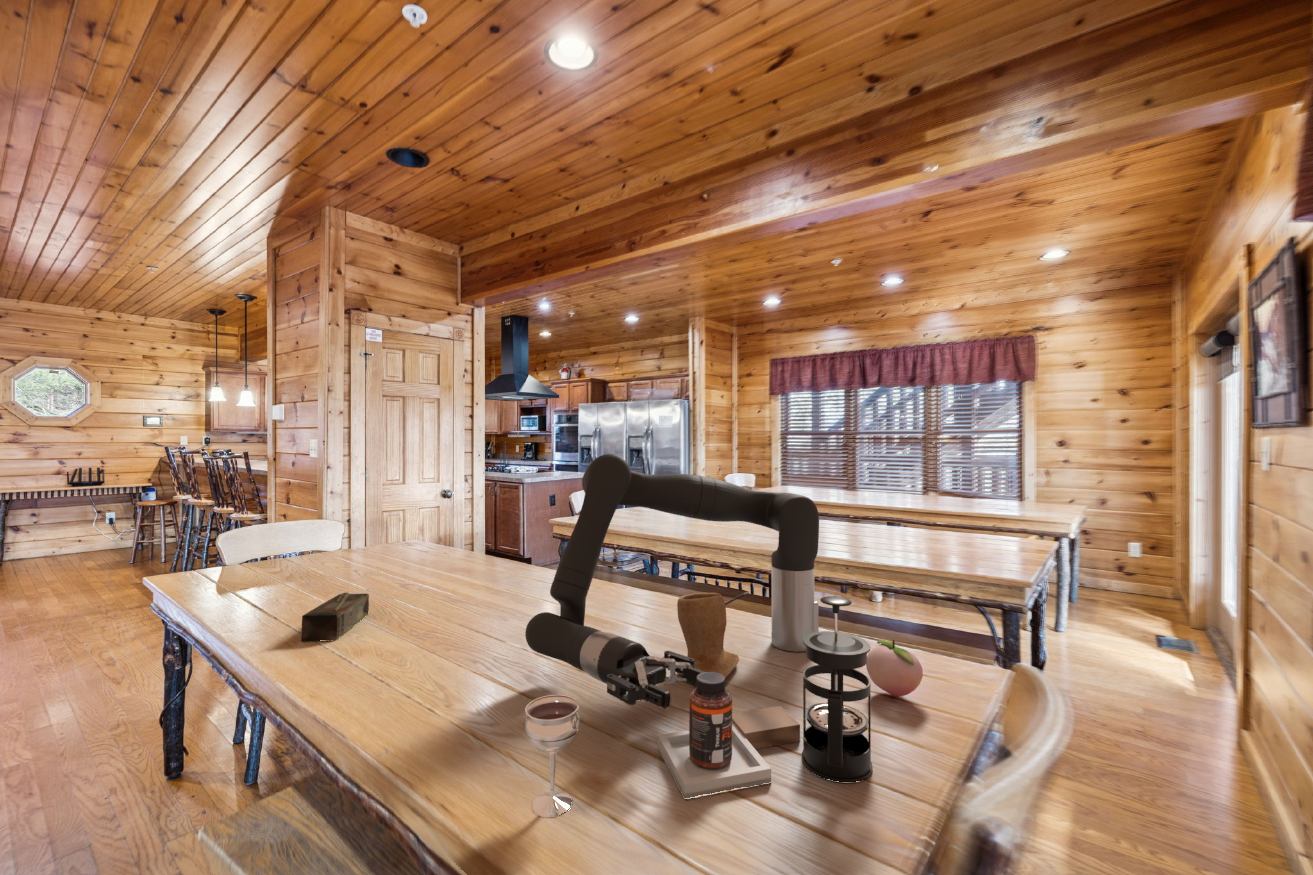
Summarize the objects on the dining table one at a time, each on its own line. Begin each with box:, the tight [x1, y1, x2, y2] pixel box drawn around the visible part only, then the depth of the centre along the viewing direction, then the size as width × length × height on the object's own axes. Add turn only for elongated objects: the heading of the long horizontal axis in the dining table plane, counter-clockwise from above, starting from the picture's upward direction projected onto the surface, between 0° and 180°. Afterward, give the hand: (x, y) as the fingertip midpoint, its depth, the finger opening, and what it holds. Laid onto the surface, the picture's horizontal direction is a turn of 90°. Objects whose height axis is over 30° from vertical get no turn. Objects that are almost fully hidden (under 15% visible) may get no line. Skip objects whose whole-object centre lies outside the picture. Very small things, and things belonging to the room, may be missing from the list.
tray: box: [657, 723, 772, 799], centre depth 76 cm, size 12×12×2 cm
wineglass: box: [524, 694, 581, 818], centre depth 68 cm, size 7×7×12 cm
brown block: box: [732, 705, 801, 750], centre depth 84 cm, size 9×6×2 cm, turn 106°
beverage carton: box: [300, 591, 370, 643], centre depth 132 cm, size 8×19×7 cm, turn 7°
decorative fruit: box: [865, 639, 924, 698], centre depth 96 cm, size 9×8×10 cm
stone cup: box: [675, 592, 740, 679], centre depth 107 cm, size 15×12×15 cm
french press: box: [801, 595, 874, 782], centre depth 76 cm, size 12×9×23 cm
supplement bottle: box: [688, 672, 733, 769], centre depth 76 cm, size 6×6×11 cm
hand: (688, 690), depth 79 cm, fingers open, 8 cm apart
